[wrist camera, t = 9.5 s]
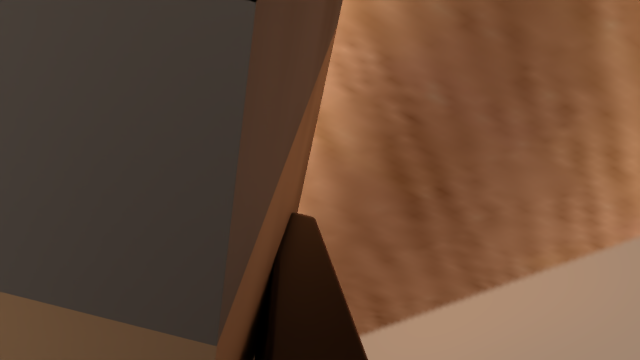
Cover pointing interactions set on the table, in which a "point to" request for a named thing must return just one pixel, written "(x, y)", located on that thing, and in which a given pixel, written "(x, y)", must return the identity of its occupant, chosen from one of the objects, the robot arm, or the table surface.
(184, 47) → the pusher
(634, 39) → the table surface
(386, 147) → the table surface
